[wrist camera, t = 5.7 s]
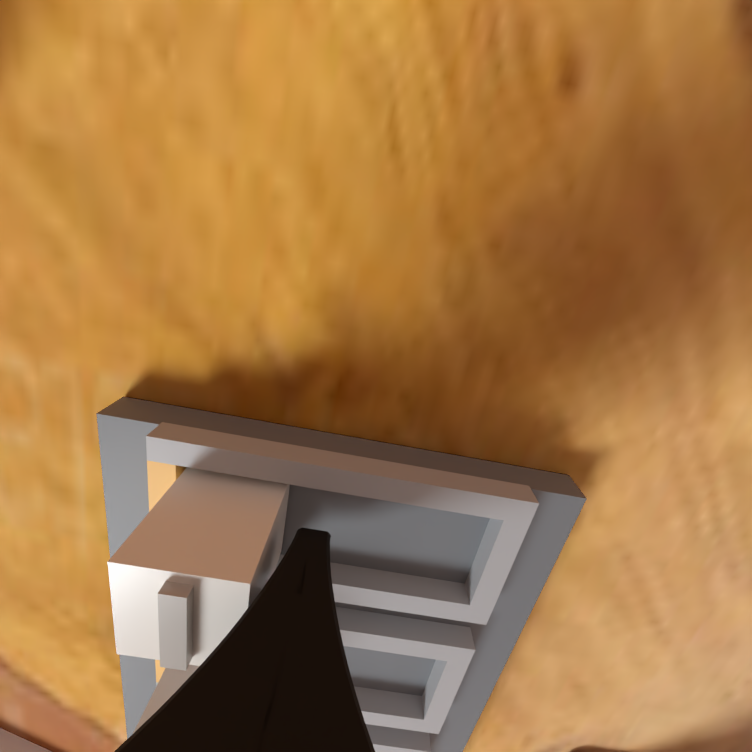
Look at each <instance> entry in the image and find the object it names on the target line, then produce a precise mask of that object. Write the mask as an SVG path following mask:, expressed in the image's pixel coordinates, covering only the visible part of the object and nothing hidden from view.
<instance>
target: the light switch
mask: <svg viewBox="0 0 752 752" xmlns="http://www.w3.org/2000/svg"><path fill="white" fill-rule="evenodd" d="M0 752H52V751H50V750H48V749H45V748H43V747H41V746H39V745H36V744H34V743H32V742H30V741H28V740H25V739H23V738H21V737H19V736H17V735H14V734H12V733H10V732H8V731H6V730H3V729H1V728H0Z"/></svg>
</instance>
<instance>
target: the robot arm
mask: <svg viewBox="0 0 752 752" xmlns="http://www.w3.org/2000/svg"><path fill="white" fill-rule="evenodd" d="M330 538H331V535H330V534H329V533H328V532H327V531H321V530H315V529H309V528H303V527H302V528H300V529H298V530H297V532H296V534H295V537H294V539H293V541H292V543H291V545H290V546H289V548H288V550H287V552H286V553H285V555H284V557H283V558H282V560H281V562H280V563H279V565H278V566H277V568H276V570H275V571H274V572H273V574H272V575H271V577H270V578H269V580H268V581H267V583H266V584H265V586H264V587H263V589H262V590H261V591H260V593H259V594H258V596H257V597H256V598H255V600H254V601H253V602H252V604H251V605H250V606H249V607H248V609H247V610H246V611H245V613H244V614H243V615H242V617H241V618H240V619H239V620H238V622H237V623H236V624H235V626H234V627H233V628H232V629H231V630H230V632H229V633H228V634H227V635H226V637H225V638H224V639H223V640H222V641H221V642H220V644H219V645H218V646H217V647H216V648H215V649H214V651H213V652H212V653H211V654H210V655H209V656H208V657H207V659H206V660H205V661H204V662H203V663H202V664H201V665H200V666H199V667H198V668H197V670H196V671H195V672H194V673H193V674H192V675H191V676H190V677H189V678H188V679H187V680H186V681H185V682H184V683H183V685H182V686H181V687H180V688H179V689H178V690H177V691H176V692H175V693H174V694H173V695H172V696H171V697H170V698H169V699H168V700H167V701H166V702H165V703H164V704H163V705H162V706H161V707H160V708H159V709H158V710H157V711H156V712H155V713H154V714H153V715H152V716H151V717H150V718H149V719H148V720H147V721H146V722H145V723H144V724H143V725H142V726H141V727H140V728H139V729H137V730H136V731H135V732H134V733H133V734H132V735H131V736H130V737H129V738H128V739H127V740H126V741H125V742H124V743H123V744H122V745H121V746H120V747H119V748H118V749H117V750H116V751H115V752H375V749H374V747H373V744H372V741H371V738H370V735H369V732H368V729H367V726H366V724H365V721H364V718H363V715H362V712H361V708H360V705H359V702H358V698H357V695H356V692H355V688H354V685H353V681H352V678H351V674H350V670H349V667H348V663H347V659H346V655H345V651H344V646H343V642H342V637H341V633H340V628H339V623H338V618H337V612H336V606H335V600H334V593H333V586H332V578H331V566H330Z"/></svg>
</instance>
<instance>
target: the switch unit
mask: <svg viewBox="0 0 752 752" xmlns="http://www.w3.org/2000/svg"><path fill="white" fill-rule="evenodd" d="M97 423H98V433H99V444H100V455H101V465H102V476H103V486H104V497H105V507H106V518H107V528H108V539H109V549H110V558H111V557H112V556H113V555H114V554H115V552H116V551H117V550H118V549H119V548H120V546H121V545H122V544H123V543H124V542H125V541H126V539H127V538H128V537H129V536H130V535H131V533H132V532H133V531H134V530H135V529H136V527H137V526H138V525H139V524H140V523H141V521H142V520H143V519H144V518H145V517H146V516H147V514H148V513H149V512H150V511H151V510H152V508H153V507H154V506H155V505H156V504H157V502H158V501H159V500H160V499H161V498H162V496H163V495H164V494H165V493H166V492H167V490H168V489H169V488H170V487H171V486H172V485H173V483H174V482H175V481H176V480H177V479H178V477H179V476H180V475H181V474H182V473H183V471H184V470H185V469H186V468H187V467H189V468H195V469H201V470H207V471H213V472H219V473H225V474H231V475H237V476H243V477H249V478H254V479H260V480H266V481H272V482H278V483H284V484H290V488H289V496H288V504H287V511H286V519H285V527H284V535H283V543H282V550H281V553H280V557H279V560H278V563H277V566H278V565H279V563H280V562H281V560H282V558H283V557H284V555H285V553H286V552H287V550H288V548H289V546H290V545H291V543H292V541H293V539H294V537H295V534H296V532H297V530H298V529H300V528H302V527H303V528H309V529H315V530H321V531H327V532H328V533H329V534H330V535H331V538H330V566H331V578H332V586H333V593H334V600H335V606H336V612H337V618H338V623H339V628H340V633H341V637H342V642H343V646H344V651H345V655H346V659H347V663H348V667H349V670H350V674H351V678H352V681H353V685H354V688H355V692H356V695H357V698H358V702H359V705H360V708H361V712H362V715H363V718H364V721H365V724H366V726H367V729H368V732H369V735H370V738H371V741H372V744H373V747H374V749H375V752H462V751H463V749H464V747H465V745H466V743H467V741H468V739H469V737H470V735H471V733H472V731H473V729H474V727H475V725H476V723H477V721H478V719H479V717H480V715H481V713H482V711H483V709H484V707H485V705H486V703H487V701H488V699H489V696H490V694H491V692H492V690H493V688H494V686H495V684H496V682H497V680H498V678H499V676H500V674H501V672H502V670H503V668H504V666H505V664H506V662H507V660H508V658H509V656H510V654H511V652H512V650H513V648H514V646H515V644H516V641H517V639H518V637H519V635H520V633H521V631H522V629H523V627H524V625H525V623H526V621H527V619H528V617H529V615H530V613H531V611H532V609H533V607H534V605H535V603H536V601H537V599H538V597H539V595H540V593H541V591H542V589H543V586H544V584H545V582H546V580H547V578H548V576H549V574H550V572H551V570H552V568H553V566H554V564H555V562H556V560H557V558H558V556H559V554H560V552H561V550H562V548H563V546H564V544H565V542H566V540H567V538H568V536H569V534H570V531H571V529H572V527H573V525H574V523H575V521H576V519H577V517H578V515H579V513H580V511H581V509H582V507H583V505H584V503H585V501H586V499H587V498H586V497H585V496H584V495H583V493H582V492H581V491H580V489H579V488H578V487H577V485H576V484H575V483H574V481H573V480H572V479H571V477H570V476H569V475H565V474H559V473H554V472H548V471H542V470H537V469H531V468H525V467H520V466H514V465H508V464H503V463H497V462H491V461H486V460H480V459H474V458H469V457H463V456H457V455H452V454H446V453H440V452H435V451H429V450H423V449H418V448H412V447H406V446H401V445H395V444H389V443H384V442H378V441H372V440H367V439H361V438H355V437H350V436H344V435H338V434H333V433H327V432H321V431H316V430H310V429H304V428H299V427H293V426H287V425H282V424H276V423H270V422H265V421H259V420H253V419H248V418H242V417H236V416H230V415H225V414H219V413H213V412H208V411H202V410H196V409H191V408H185V407H179V406H174V405H168V404H162V403H157V402H151V401H145V400H140V399H134V398H128V397H122V398H121V399H119V400H117V401H116V402H114V403H113V404H111V405H109V406H108V407H106V408H105V409H103V410H102V411H100V412H98V413H97ZM277 566H276V568H277ZM275 570H276V569H275ZM119 655H120V654H119ZM120 665H121V676H122V686H123V697H124V707H125V718H126V729H127V739H128V738H129V737H130V736H131V735H132V734H133V732H134V730H135V728H136V726H137V724H138V722H139V720H140V718H141V716H142V714H143V712H144V710H145V708H146V706H147V704H148V702H149V700H150V698H151V696H152V694H153V692H154V690H155V688H156V686H157V684H158V682H159V680H160V678H161V676H162V674H163V672H164V670H165V668H163V667H160V660H155V659H148V658H141V657H134V656H127V655H120Z"/></svg>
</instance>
